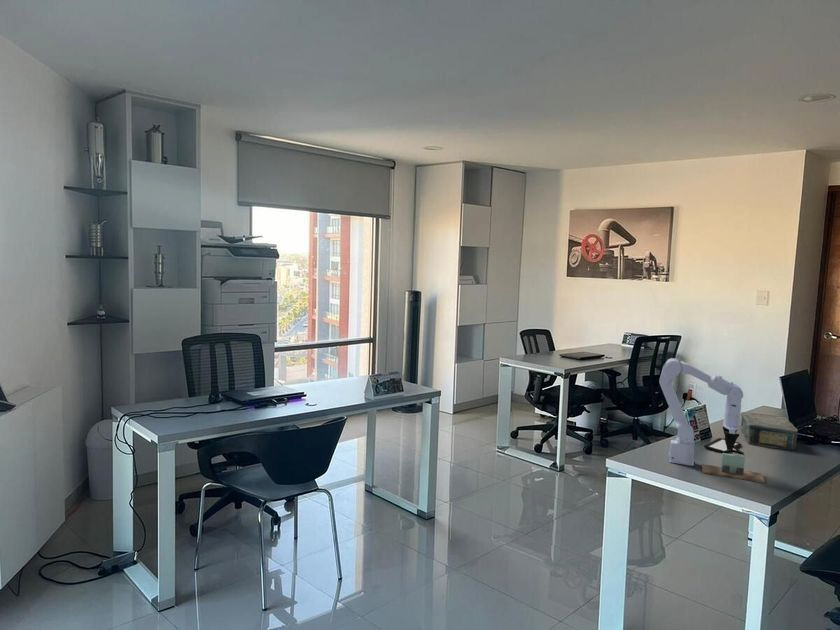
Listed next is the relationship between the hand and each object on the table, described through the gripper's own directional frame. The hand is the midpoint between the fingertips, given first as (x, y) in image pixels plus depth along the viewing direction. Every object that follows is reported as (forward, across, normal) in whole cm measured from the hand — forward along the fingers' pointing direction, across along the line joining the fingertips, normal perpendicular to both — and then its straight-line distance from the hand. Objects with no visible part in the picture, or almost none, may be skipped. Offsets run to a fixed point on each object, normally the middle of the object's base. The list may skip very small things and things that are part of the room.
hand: (729, 447), depth 249 cm
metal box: (+10, +65, -22) cm, 69 cm away
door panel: (+9, -6, -1) cm, 11 cm away
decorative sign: (+10, +35, -3) cm, 37 cm away
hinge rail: (+9, -6, -2) cm, 11 cm away
